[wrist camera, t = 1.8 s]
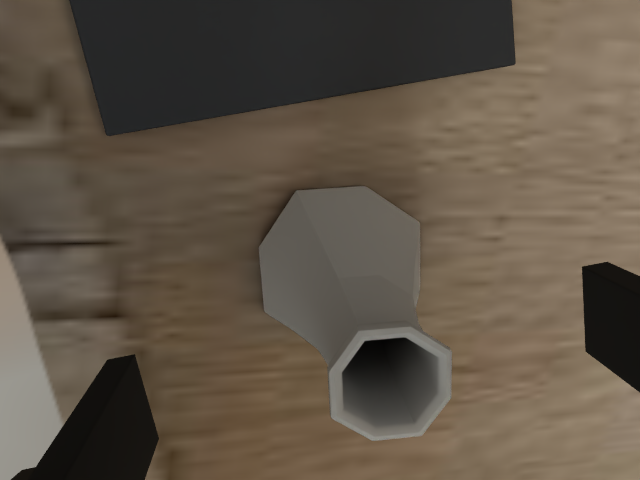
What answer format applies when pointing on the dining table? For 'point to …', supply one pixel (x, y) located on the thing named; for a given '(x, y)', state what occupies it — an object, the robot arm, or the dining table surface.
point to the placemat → (274, 52)
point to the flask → (358, 307)
